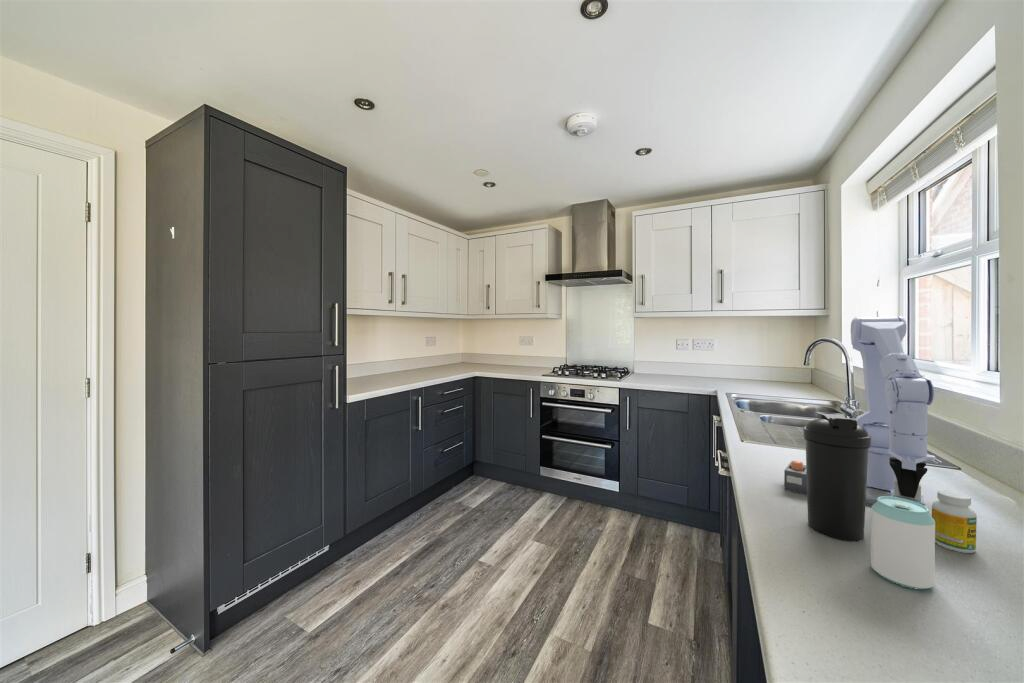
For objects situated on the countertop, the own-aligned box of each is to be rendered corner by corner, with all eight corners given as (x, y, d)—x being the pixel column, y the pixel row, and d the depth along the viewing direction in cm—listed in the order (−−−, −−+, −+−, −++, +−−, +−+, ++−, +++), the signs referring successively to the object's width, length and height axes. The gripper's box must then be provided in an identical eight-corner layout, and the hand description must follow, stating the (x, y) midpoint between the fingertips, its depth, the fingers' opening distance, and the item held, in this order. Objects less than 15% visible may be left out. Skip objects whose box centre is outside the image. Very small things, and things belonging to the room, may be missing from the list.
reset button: (792, 475, 98) (792, 460, 98) (803, 477, 96) (803, 462, 96) (790, 477, 96) (790, 462, 96) (802, 480, 94) (802, 464, 94)
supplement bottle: (934, 535, 73) (935, 486, 73) (978, 548, 69) (979, 495, 68) (928, 543, 70) (929, 492, 70) (973, 557, 66) (974, 503, 66)
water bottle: (852, 522, 78) (853, 412, 78) (882, 548, 69) (883, 422, 68) (794, 514, 81) (795, 409, 81) (815, 538, 72) (816, 418, 72)
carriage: (890, 502, 86) (891, 476, 86) (923, 509, 83) (923, 481, 83) (890, 511, 82) (891, 483, 82) (924, 519, 79) (925, 489, 78)
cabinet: (790, 481, 100) (790, 462, 100) (816, 486, 97) (816, 467, 96) (784, 489, 95) (784, 470, 95) (811, 496, 91) (812, 475, 91)
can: (948, 595, 56) (949, 515, 56) (893, 589, 57) (894, 511, 57) (907, 566, 63) (908, 495, 63) (859, 562, 64) (860, 492, 64)
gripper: (938, 442, 74) (937, 511, 74) (932, 429, 85) (931, 489, 85) (888, 436, 79) (887, 500, 79) (888, 424, 90) (887, 481, 90)
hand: (907, 494), depth 82 cm, fingers closed on carriage, 2 cm apart
